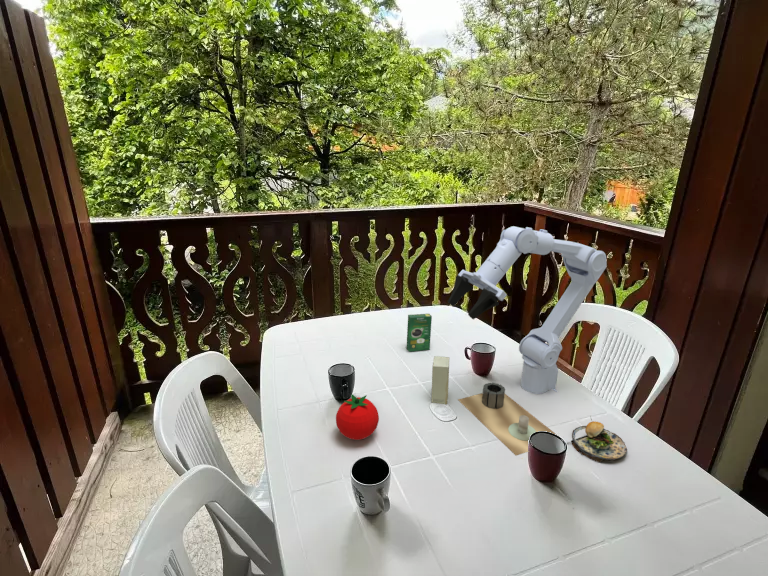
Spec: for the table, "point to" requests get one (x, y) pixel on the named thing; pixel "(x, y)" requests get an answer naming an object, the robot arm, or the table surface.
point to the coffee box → (418, 332)
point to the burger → (598, 443)
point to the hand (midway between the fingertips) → (460, 310)
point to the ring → (493, 395)
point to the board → (506, 422)
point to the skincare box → (440, 380)
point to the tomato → (357, 418)
